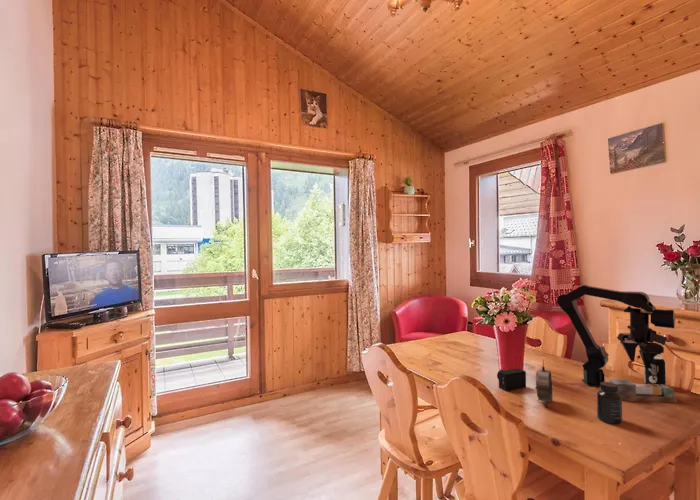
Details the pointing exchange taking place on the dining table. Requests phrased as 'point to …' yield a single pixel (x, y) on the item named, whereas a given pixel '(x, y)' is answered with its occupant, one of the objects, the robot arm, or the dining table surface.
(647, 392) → the grey rectangular bar
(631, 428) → the dining table surface
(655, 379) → the beverage can
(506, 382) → the digital camera
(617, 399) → the supplement bottle
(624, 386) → the tube stand
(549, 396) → the alarm clock
